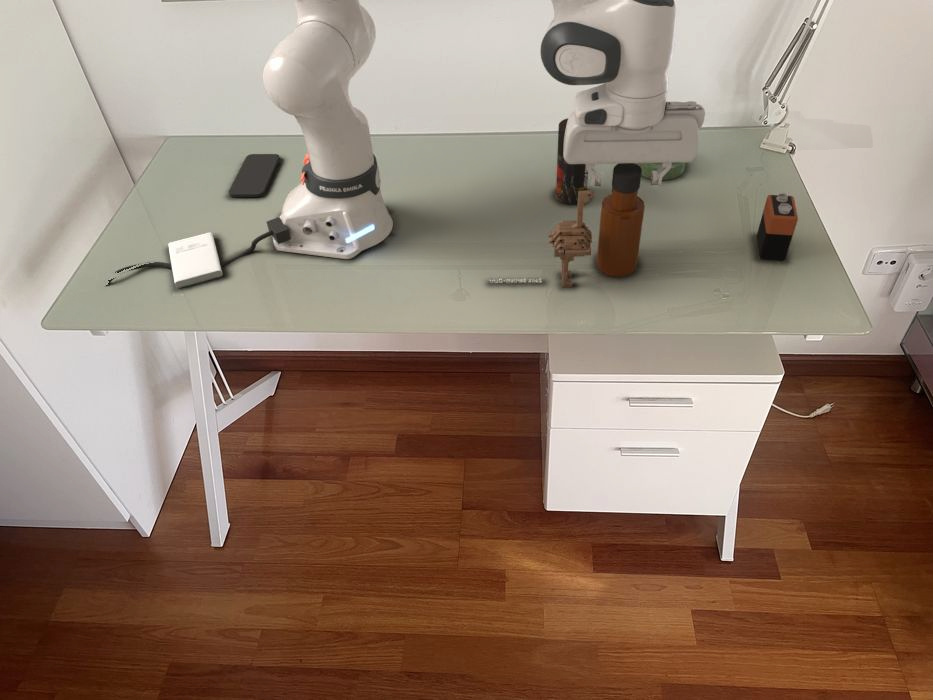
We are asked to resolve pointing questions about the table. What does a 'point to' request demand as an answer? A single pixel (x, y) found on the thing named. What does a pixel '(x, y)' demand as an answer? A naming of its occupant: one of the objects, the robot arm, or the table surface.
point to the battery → (776, 227)
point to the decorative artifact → (649, 167)
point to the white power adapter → (194, 260)
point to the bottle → (620, 233)
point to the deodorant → (568, 173)
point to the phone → (254, 175)
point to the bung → (626, 178)
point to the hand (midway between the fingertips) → (625, 183)
